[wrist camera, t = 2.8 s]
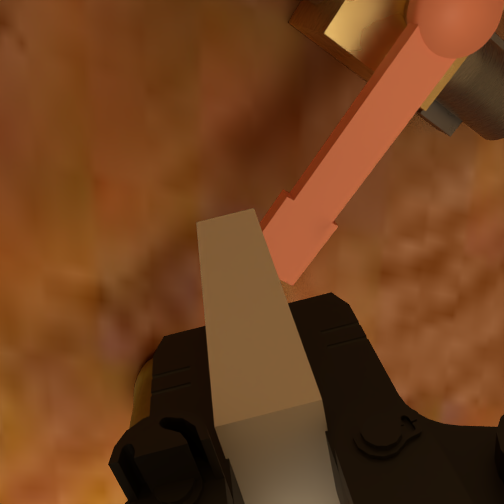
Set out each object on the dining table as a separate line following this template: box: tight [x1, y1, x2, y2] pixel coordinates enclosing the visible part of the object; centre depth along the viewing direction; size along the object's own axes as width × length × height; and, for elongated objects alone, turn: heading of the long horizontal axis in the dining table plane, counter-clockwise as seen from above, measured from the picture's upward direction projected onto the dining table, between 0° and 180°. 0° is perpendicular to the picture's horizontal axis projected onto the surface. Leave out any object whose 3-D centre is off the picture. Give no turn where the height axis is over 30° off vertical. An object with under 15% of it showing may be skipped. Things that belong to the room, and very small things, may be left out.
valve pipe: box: [288, 0, 504, 140], centre depth 26 cm, size 22×7×10 cm, turn 57°
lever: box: [259, 0, 504, 286], centre depth 23 cm, size 16×4×1 cm, turn 147°
